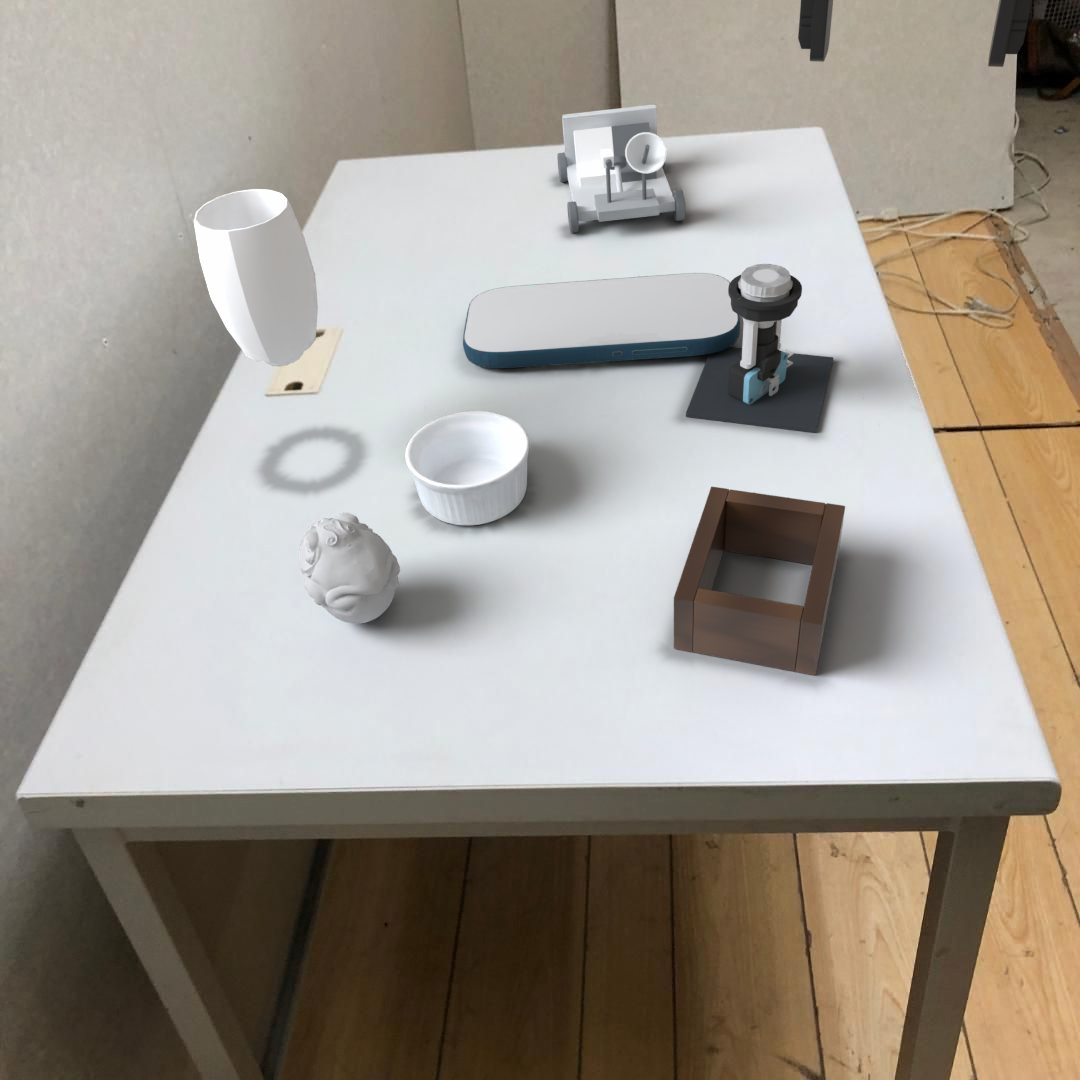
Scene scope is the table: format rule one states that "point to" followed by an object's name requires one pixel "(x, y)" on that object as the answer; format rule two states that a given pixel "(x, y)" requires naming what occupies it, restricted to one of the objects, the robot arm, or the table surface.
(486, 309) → the external hard drive
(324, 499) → the table surface
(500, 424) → the ramekin
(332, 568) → the frog figurine
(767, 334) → the push button
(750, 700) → the table surface
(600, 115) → the toy car
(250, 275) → the cup
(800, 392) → the mat
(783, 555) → the holder
